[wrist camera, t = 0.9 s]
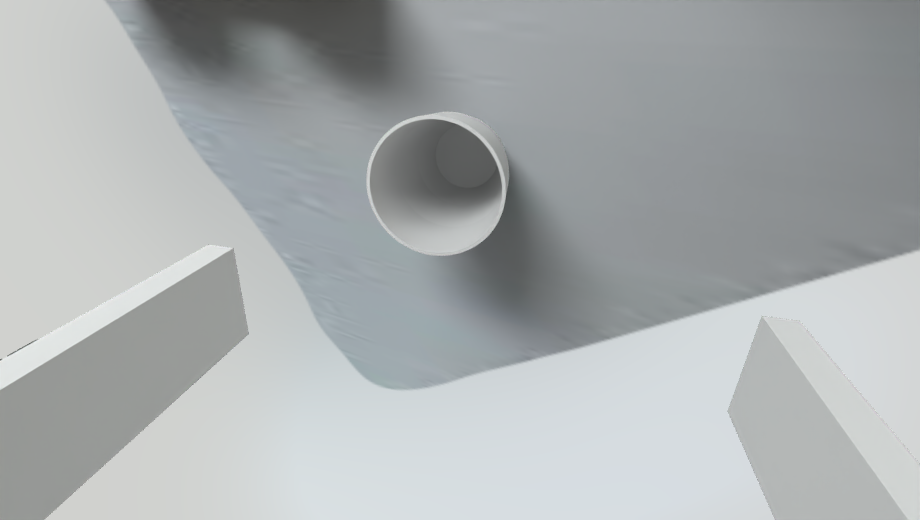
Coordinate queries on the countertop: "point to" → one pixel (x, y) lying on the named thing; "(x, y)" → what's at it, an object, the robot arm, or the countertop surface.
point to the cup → (438, 182)
